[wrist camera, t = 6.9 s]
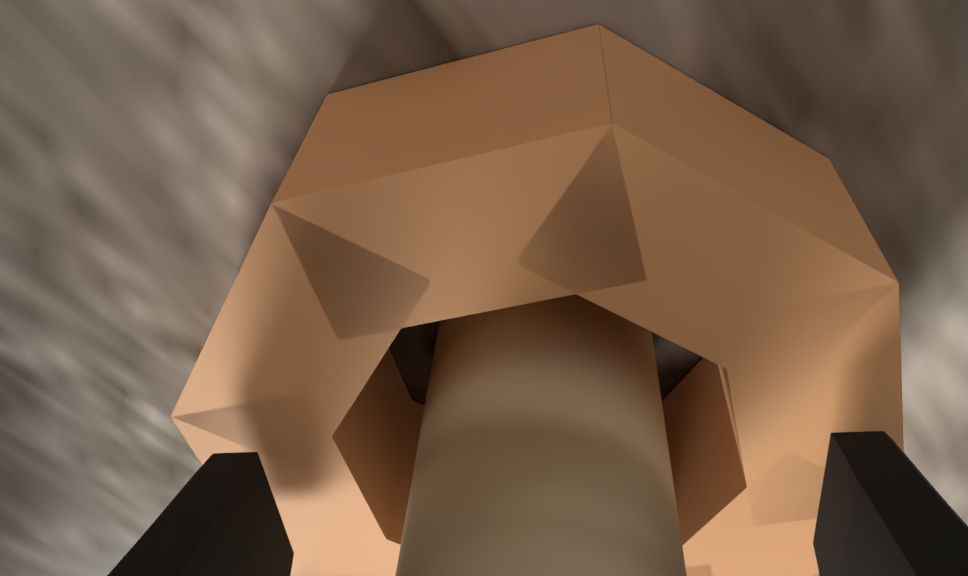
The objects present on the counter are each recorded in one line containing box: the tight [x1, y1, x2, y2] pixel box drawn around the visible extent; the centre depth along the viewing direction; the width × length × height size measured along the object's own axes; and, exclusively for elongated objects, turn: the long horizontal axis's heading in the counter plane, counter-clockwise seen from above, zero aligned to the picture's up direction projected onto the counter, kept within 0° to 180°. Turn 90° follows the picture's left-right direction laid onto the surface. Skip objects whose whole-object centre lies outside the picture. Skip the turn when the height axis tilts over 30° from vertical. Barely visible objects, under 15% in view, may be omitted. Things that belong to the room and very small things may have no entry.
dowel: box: [395, 294, 687, 576], centre depth 11 cm, size 3×3×8 cm
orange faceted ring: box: [171, 24, 904, 576], centre depth 13 cm, size 9×9×3 cm
